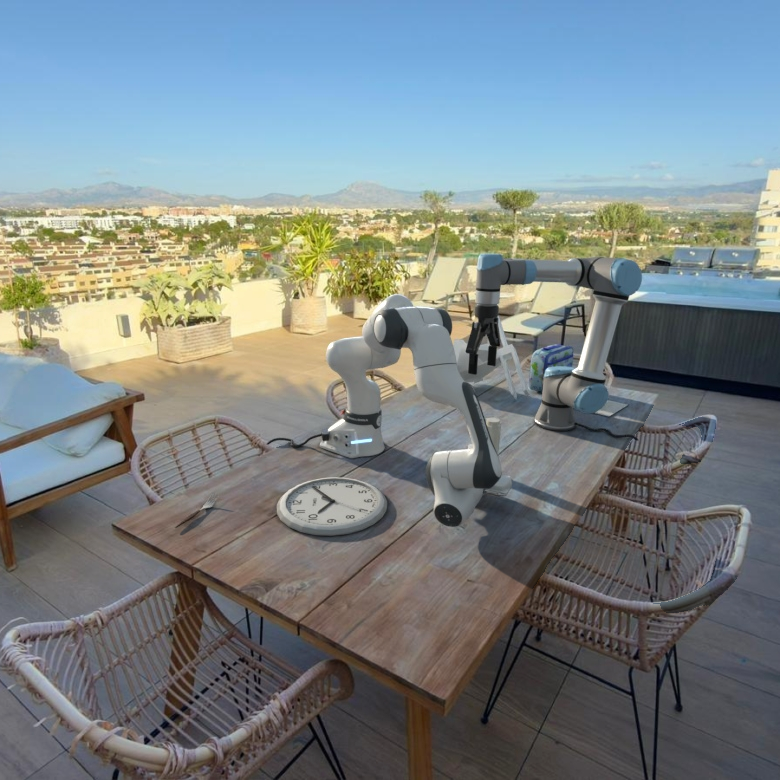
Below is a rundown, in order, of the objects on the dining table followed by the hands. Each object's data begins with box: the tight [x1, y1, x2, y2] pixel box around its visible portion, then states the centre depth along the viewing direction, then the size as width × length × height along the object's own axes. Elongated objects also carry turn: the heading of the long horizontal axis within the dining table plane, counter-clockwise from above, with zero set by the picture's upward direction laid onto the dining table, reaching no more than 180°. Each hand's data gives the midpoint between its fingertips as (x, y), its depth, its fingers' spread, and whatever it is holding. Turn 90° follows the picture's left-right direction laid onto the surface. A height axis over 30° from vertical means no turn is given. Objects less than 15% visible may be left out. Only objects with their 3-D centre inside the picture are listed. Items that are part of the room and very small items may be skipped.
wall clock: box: [276, 476, 388, 537], centre depth 142 cm, size 30×2×30 cm
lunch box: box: [528, 344, 574, 393], centre depth 247 cm, size 26×11×21 cm, turn 134°
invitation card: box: [594, 399, 629, 418], centre depth 226 cm, size 21×1×15 cm
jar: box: [485, 417, 502, 455], centre depth 159 cm, size 5×5×18 cm
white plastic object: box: [453, 315, 531, 400], centre depth 245 cm, size 37×45×31 cm
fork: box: [174, 492, 220, 529], centre depth 137 cm, size 3×16×2 cm, turn 160°
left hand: (481, 468), depth 151 cm, fingers open, 8 cm apart
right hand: (482, 369), depth 171 cm, fingers open, 13 cm apart
